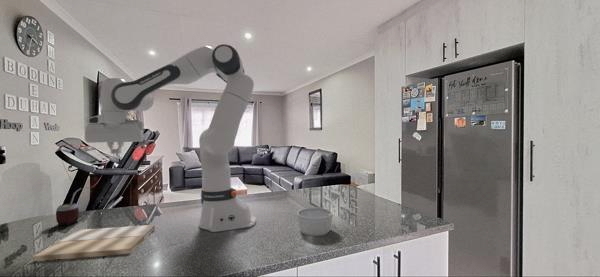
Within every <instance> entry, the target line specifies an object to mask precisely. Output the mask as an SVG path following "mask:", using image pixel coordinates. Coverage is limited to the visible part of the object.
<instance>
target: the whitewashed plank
mask: <svg viewBox="0 0 600 277" xmlns="http://www.w3.org/2000/svg"><path fill="white" fill-rule="evenodd" d="M155 228H156V227H155V224H147V225H146V224H145V225H130V226H116V227H101V228H85V229H77V230H76V231H74V232H72V233H70V234H69V235H67V236H65V237H64V238H62V239H60V240H59V241H58V242H68V241H81V240H95V239H109V238H122V237H136V236H144V241H145V240H146V239H147V238H148V237H149V236H150V234H152V233H153V232H154V230H155Z"/></svg>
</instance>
